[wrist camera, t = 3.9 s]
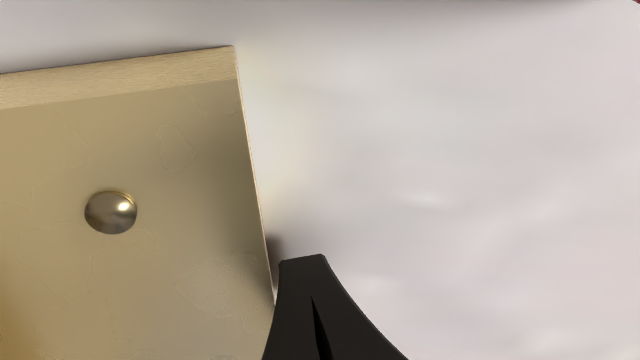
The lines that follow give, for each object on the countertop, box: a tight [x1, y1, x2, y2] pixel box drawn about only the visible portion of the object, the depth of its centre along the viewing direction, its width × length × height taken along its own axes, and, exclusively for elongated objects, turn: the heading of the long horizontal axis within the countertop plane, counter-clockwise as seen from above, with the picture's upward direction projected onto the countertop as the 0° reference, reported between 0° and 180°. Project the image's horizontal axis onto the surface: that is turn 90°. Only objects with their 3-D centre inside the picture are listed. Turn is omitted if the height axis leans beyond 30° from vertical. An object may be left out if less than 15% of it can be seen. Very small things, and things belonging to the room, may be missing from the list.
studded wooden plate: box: [0, 46, 276, 360], centre depth 12 cm, size 13×10×4 cm
